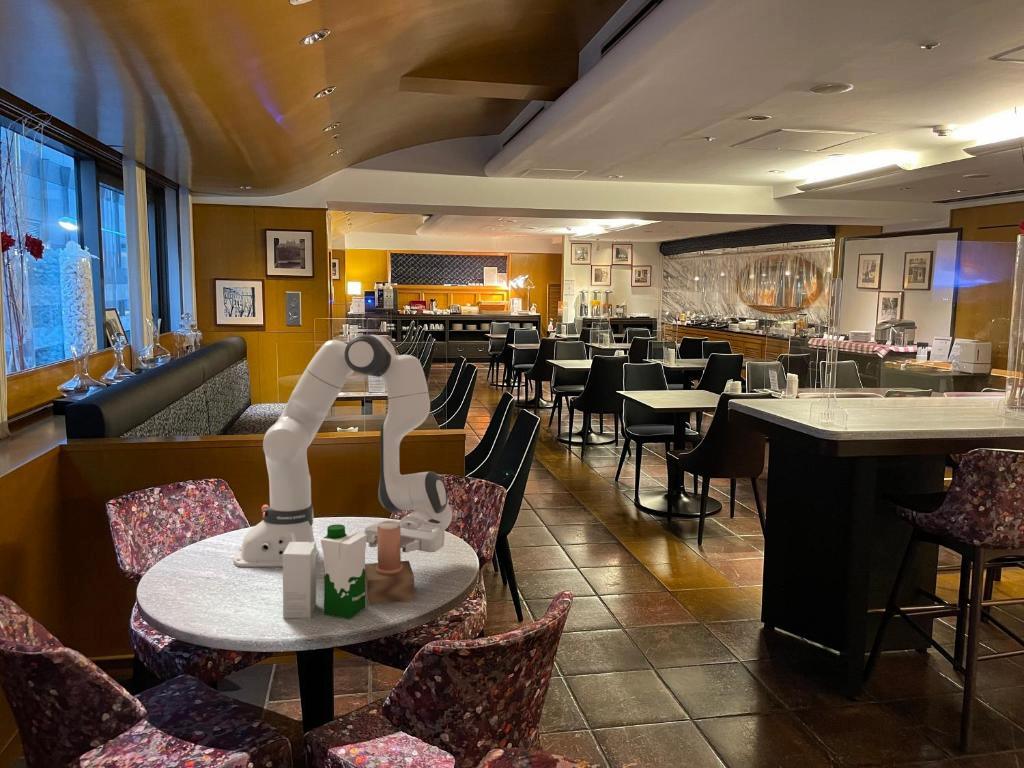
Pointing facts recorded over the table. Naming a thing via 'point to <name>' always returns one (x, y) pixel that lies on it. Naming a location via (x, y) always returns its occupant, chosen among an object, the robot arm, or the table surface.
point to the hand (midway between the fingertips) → (387, 546)
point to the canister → (389, 548)
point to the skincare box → (299, 580)
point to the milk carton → (344, 572)
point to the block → (389, 585)
